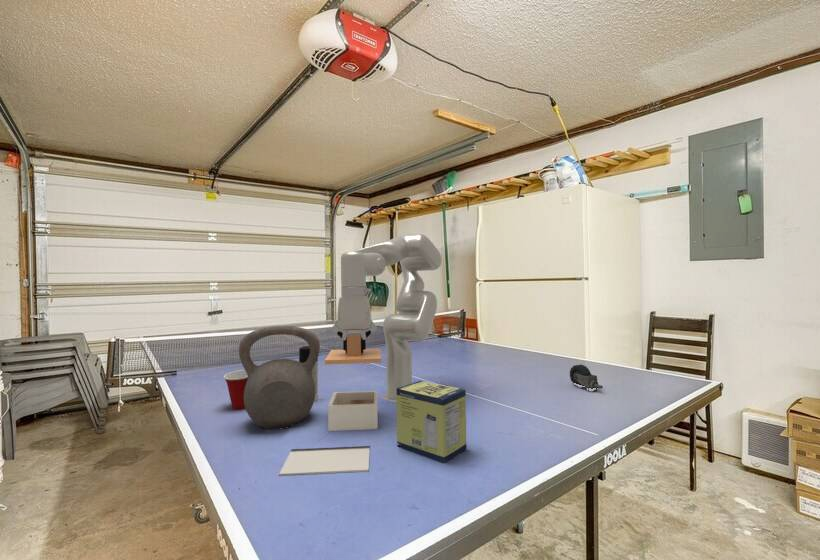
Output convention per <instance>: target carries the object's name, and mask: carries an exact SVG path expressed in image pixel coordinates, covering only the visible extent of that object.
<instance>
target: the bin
mask: <svg viewBox="0 0 820 560" xmlns="http://www.w3.org/2000/svg"><path fill="white" fill-rule="evenodd" d="M378 398H379V397H378V390H368V391H367V390H365V391H338V392H337V391H334V392H332V396H331V398H330V401H329V403H328V406H327V411H328V412H327V413H328V414H327V416H328V418H327V419H328V420H327V421H328V422H327V423H328V425H327V426H328V428H327V429H328V430H327V431H329V432H333V431H337V432H338V431H359V430H361V431H362V430H363V431H364V430H378V426H379V425H378V421H379V420H378V419H379V418H378V413H379V411H378V409H379V407H378V406H379V405H378ZM351 400H370V404H350V401H351Z"/></svg>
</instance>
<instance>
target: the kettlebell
mask: <svg viewBox="0 0 820 560" xmlns="http://www.w3.org/2000/svg"><path fill="white" fill-rule="evenodd" d="M280 335H283V336H284V335H286V336H287V335H288V336H295V337H298V338H300V339H302V340H304V341H305V342H306V343H307V344H308V346H310V354H309V357H308V359H307V361H306V362H304V363H300V362H299V360H295V359H291V358H276V359H275V358H274V359H271V360H268V361H266V362H263V363H261V364H260V365H259V364H258V365H257V364H255V362H254V361H253V360H252V358H251V354H250V353H251V347H252V346H253V345H254V344H255V343H256V342H258V341H259V340H261V339H264V338H267V337H269V336H271V337H272V336H280ZM238 347H239V348H238V353H239V355H238V356H239V359H240V362H241V366H242V367H243V368H244V369H243V370H245V371H246V373H247V375H248V380H247V383H246V386H245V391H244V404H245V408H244V409H245V411H246V413H247V415H248V417H249V418H250V419H251V421H252V422H253V423H255V424H257V425H258V426H259V427H262V428H264V429H266V428H268V429H267V430H281V429H280V428H283V429H286V427H288V428H291V427H292V426H293V425H295V424H298V423H300V422H302V421H303V420H305V418H306V417H307V416H308V414H309V413H310V412H311V410H312V408H313V405H314V402H315V401H314V398H315V383H314V379H313V376H312V370H313V367H314V365H315V363H316V361H317V358H318V359H319V354H320V350H321V349H320V347H321V345H320V340H319V338H318V336H317V335H316V333H314V332H313V331H311V330H309V329H307V328H304V327H300V326H291V325H275V326H265V327H262V328H258V329H255V330H253V331H251V332H249V333H247V334H246V335H244V336H243V338H242V339H241V341H240V343H239V346H238Z"/></svg>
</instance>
